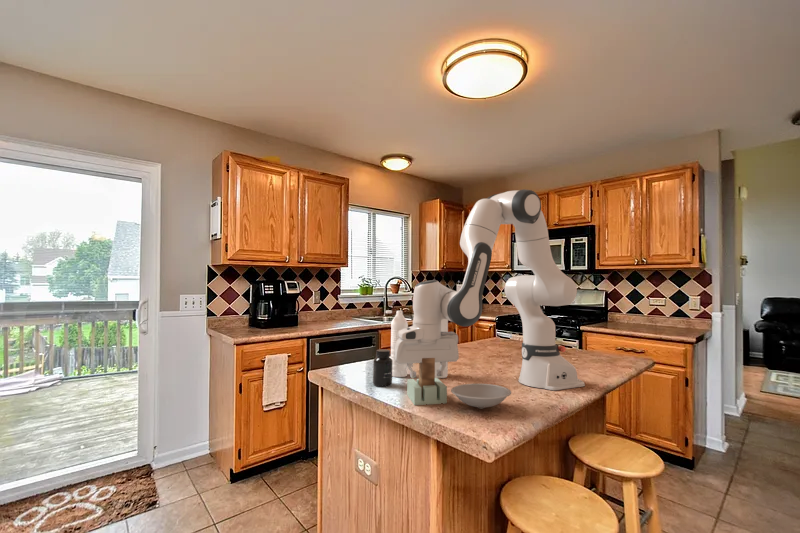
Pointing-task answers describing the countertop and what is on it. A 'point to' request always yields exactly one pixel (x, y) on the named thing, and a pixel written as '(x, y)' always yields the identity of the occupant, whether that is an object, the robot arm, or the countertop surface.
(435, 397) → the socket
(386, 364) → the supplement bottle
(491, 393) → the dish
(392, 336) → the water bottle
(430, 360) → the peg
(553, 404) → the countertop surface
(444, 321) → the cylindrical container
